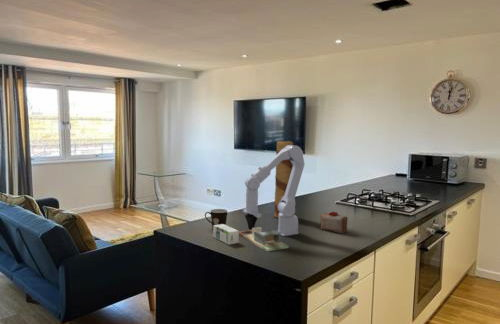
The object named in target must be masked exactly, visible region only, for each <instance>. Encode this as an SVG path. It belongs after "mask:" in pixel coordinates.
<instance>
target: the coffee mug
mask: <svg viewBox="0 0 500 324" xmlns="http://www.w3.org/2000/svg"><path fill="white" fill-rule="evenodd" d="M228 211H229V210H227V209H226V208H225V209H224V208H215V209H211V210H210V211H207V212H205V213H204V218H205V219H206V220H207V221H208V222H209V223H210V224H211V226H212V230H213V225H218V224H224V225H227V220H228ZM207 214H209V215H210V218H211V220H210V219H208V217H207Z"/></svg>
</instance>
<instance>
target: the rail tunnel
mask: <svg viewBox="0 0 500 324" xmlns="http://www.w3.org/2000/svg"><path fill="white" fill-rule="evenodd" d="M271 235H274V242H271V243H265V237H266V236H271ZM281 236H282V235H281V232H279V231H278V230H273V229H269V231H268V230H267V231H262V232H260V233H258V232H254V237H252V230H250V229H248V230H243V231H239V237H242V238H243V239H245V240H247V241H248V242H249V243H252V244H254V245H255V246H257V247H258V248H260V249H262V250H264V251H266V252H272V251H279V250H285V249H289V247H290V246H289V245H288V244H286V242H285V243H284V242H282V241H281V238H282V237H281Z"/></svg>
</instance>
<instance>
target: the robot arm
mask: <svg viewBox="0 0 500 324" xmlns="http://www.w3.org/2000/svg"><path fill="white" fill-rule="evenodd" d="M304 158H305V157H304V151H303V150H302V148H301V147H300V146H298V145H293V146H292V145H287V146H285V148H283V149H282V150H281V151H280V152H279V153H278V154H277V155H274V157H273V158H272V159H271V160H270V161H269V162H268V163H267V164H266V165H261V166H258V167H257V168H258V169H257V170H255V172H254V173H251V175H250V176H249V177H247V178H246V180H245V181H244V184H245V188H246V193H245V207H243V208H242V212H243V214H244V217H245V219H246V222H247V226H248V230H252V228H255V227H256V222H257V221H258V219H261V218H262V213H260V211H259V210H258V209H259V208H258V205H259V188H260V186H261V184H262V183H263V182H264V181H265V180H266V179H267V178H269V177H270V176H271V171H272V170H273V169H274V168H276V166H277V165H278V164H279V163H280V162H281V161H283V160H287V159H290V161H291V162H292V164H293V168H292V171H291V174H290V178H289V181H288V185H287V188H286V192H285V195H284V196H283V197H282V199H281V201H280V203H279V204H278V211H279V212H280V213H279V218H278V227H277V231H279V232H281V236H283V237H285V236H294V235H299V234H300V233H299V218H298V216H297V215H295V213H296V208H295V207H296V199H295V197H296V195H297V192H298V188H299V185H300V182H301V179H302V176H303V171H304V167H305V159H304Z"/></svg>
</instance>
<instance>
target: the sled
mask: <svg viewBox="0 0 500 324" xmlns="http://www.w3.org/2000/svg"><path fill="white" fill-rule="evenodd" d="M254 232H258V233H260V232H263V227H261V226H258V227H256V226H255V227H254V228H252V237H254ZM271 242H274V235H271V236H266V237H265V243H271Z"/></svg>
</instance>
